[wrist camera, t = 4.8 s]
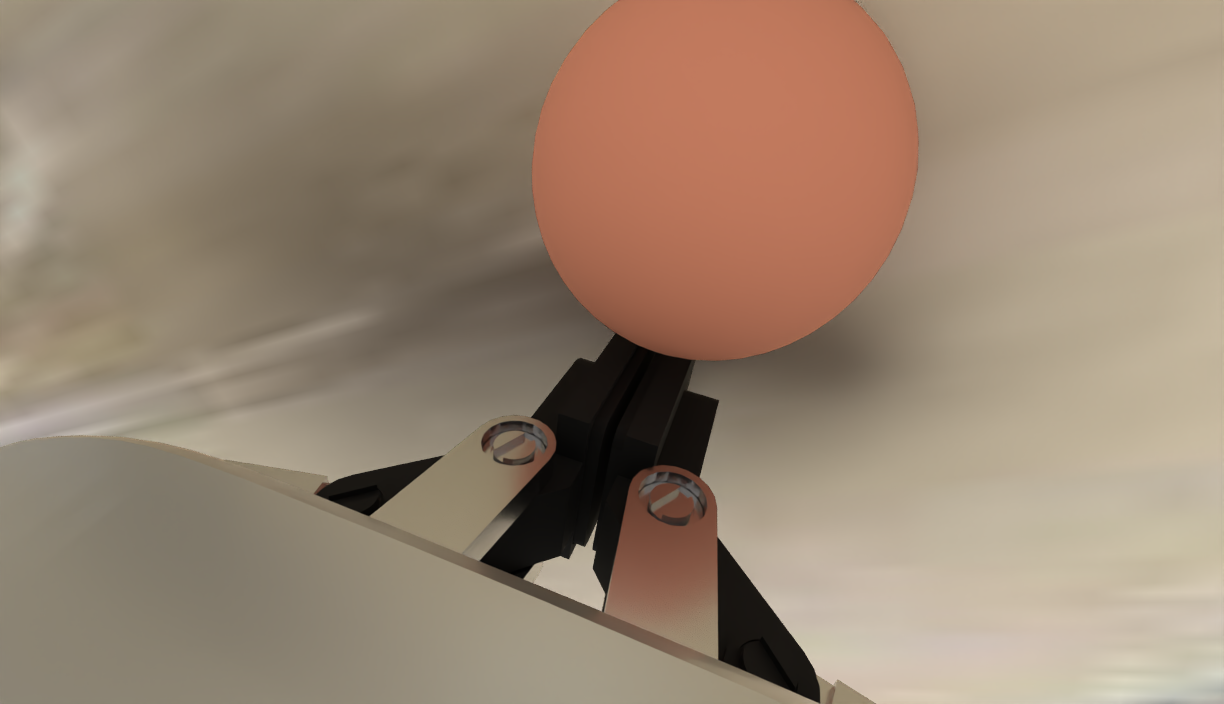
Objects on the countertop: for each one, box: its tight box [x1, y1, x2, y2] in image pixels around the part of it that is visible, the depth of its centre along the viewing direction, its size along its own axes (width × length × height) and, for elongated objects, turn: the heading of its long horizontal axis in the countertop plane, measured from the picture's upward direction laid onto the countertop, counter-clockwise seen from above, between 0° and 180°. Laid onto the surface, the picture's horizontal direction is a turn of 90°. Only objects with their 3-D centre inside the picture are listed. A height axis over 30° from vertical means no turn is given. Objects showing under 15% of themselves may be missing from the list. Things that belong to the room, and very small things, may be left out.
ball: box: [532, 0, 918, 361], centre depth 8 cm, size 6×6×6 cm
